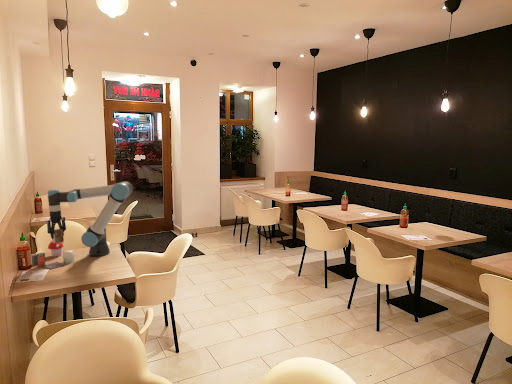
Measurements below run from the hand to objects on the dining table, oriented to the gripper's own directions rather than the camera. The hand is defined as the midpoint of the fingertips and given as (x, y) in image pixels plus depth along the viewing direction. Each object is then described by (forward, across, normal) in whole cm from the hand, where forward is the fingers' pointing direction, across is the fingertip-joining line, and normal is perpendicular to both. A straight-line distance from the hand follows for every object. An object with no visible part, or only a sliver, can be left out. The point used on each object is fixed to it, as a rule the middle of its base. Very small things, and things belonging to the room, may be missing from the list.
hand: (58, 241), depth 284 cm
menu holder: (+14, +12, -6) cm, 20 cm away
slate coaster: (+14, +10, +9) cm, 20 cm away
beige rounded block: (+15, -1, +10) cm, 18 cm away
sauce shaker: (+14, +14, +1) cm, 20 cm away
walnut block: (0, 0, 0) cm, 0 cm away
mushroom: (+15, -6, -13) cm, 21 cm away
